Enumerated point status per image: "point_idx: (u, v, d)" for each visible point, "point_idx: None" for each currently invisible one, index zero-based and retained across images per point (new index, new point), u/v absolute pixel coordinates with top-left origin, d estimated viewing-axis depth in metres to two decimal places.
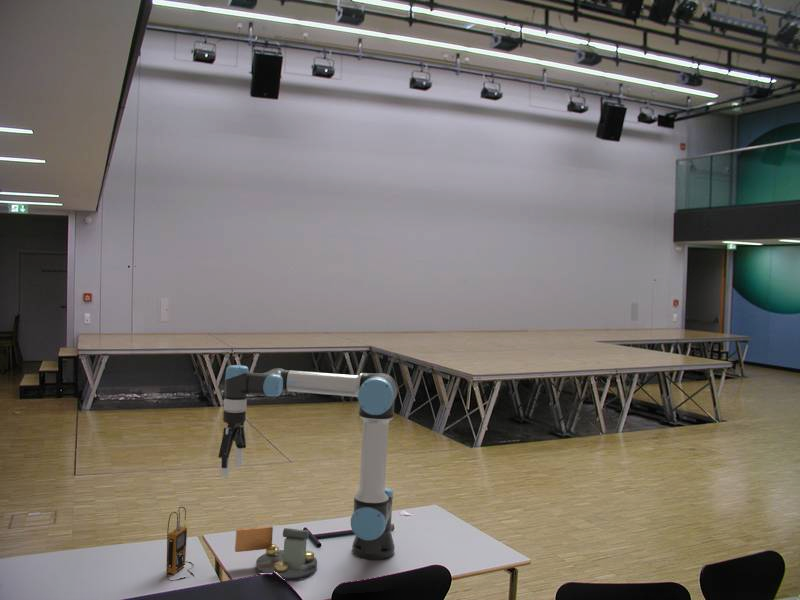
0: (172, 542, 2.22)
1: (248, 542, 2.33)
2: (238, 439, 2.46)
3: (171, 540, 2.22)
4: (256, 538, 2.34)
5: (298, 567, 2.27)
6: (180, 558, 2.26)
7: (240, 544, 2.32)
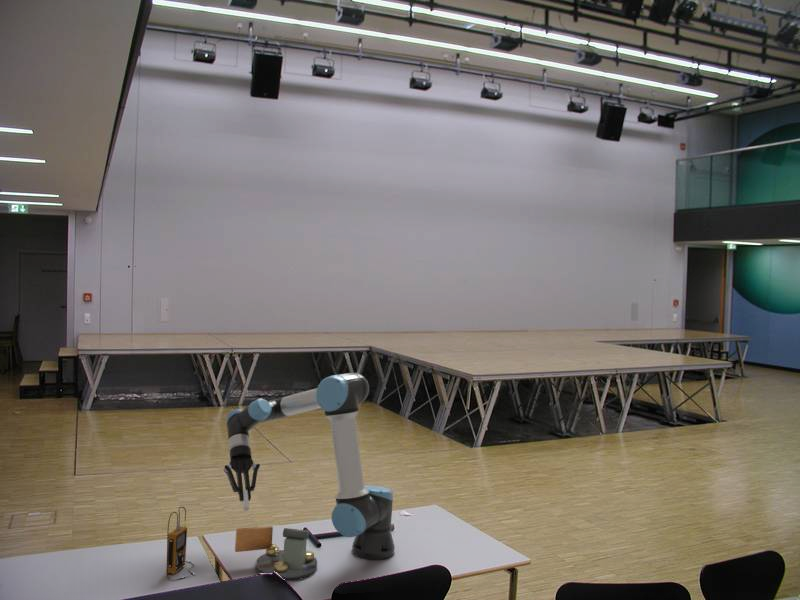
0: (172, 542, 2.22)
1: (248, 542, 2.33)
2: (245, 478, 2.51)
3: (171, 540, 2.22)
4: (256, 538, 2.34)
5: (298, 567, 2.27)
6: (180, 558, 2.26)
7: (240, 544, 2.32)
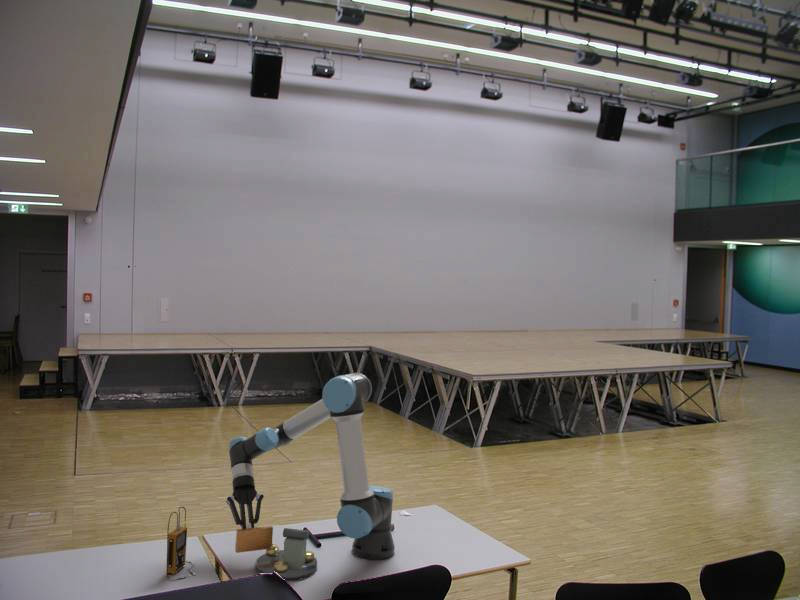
0: (172, 542, 2.22)
1: (248, 542, 2.32)
2: (248, 510, 2.42)
3: (171, 540, 2.22)
4: (256, 538, 2.33)
5: (298, 567, 2.27)
6: (180, 558, 2.26)
7: (241, 545, 2.31)
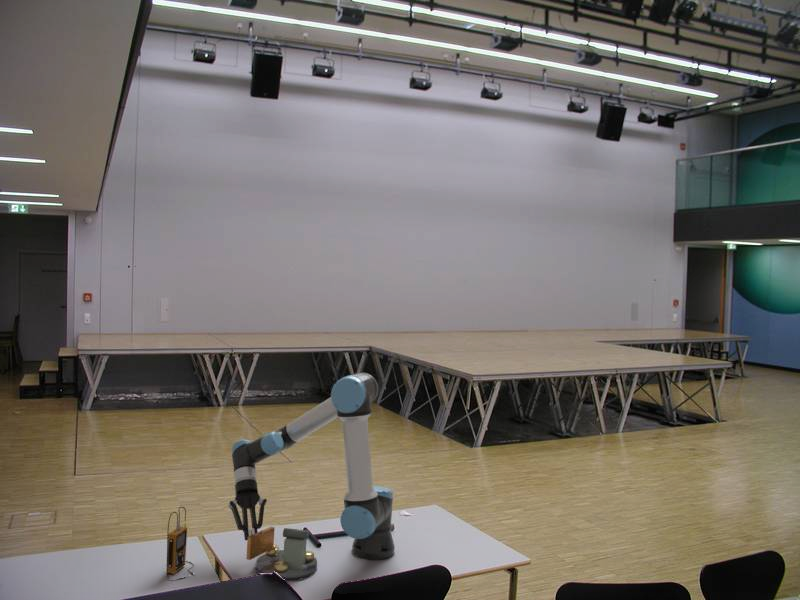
0: (172, 542, 2.22)
1: (258, 547, 2.29)
2: (251, 514, 2.38)
3: (171, 540, 2.22)
4: (263, 541, 2.31)
5: (298, 567, 2.27)
6: (180, 558, 2.26)
7: (253, 551, 2.27)
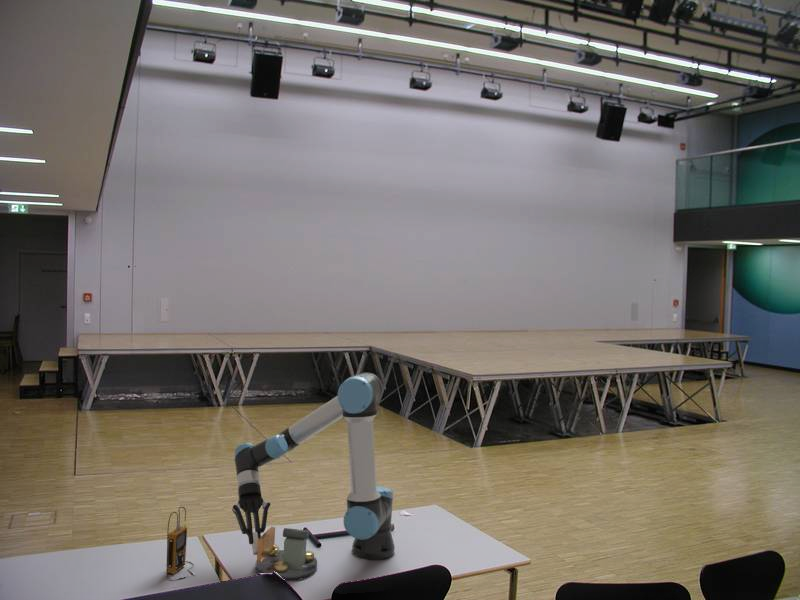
0: (172, 542, 2.22)
1: (266, 548, 2.28)
2: (254, 518, 2.35)
3: (171, 540, 2.22)
4: (269, 542, 2.31)
5: (298, 567, 2.27)
6: (180, 558, 2.26)
7: (263, 552, 2.26)
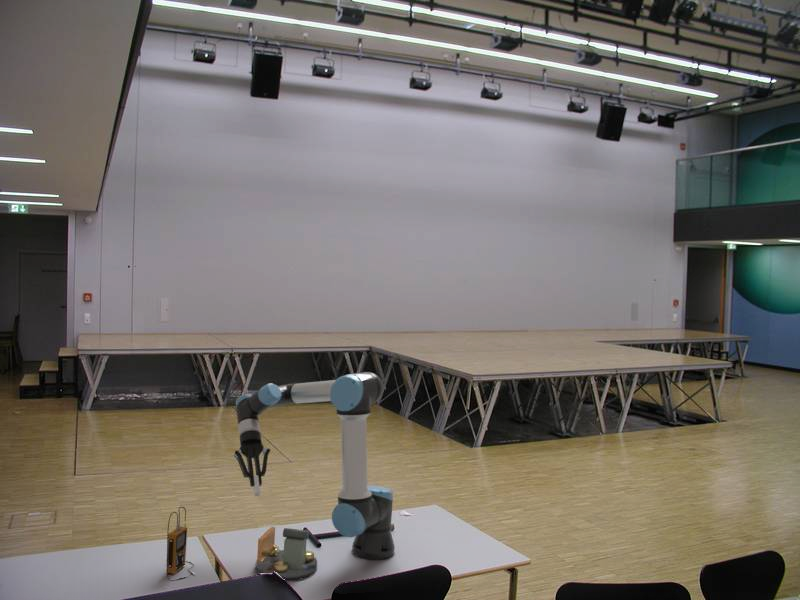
0: (172, 542, 2.22)
1: (266, 548, 2.28)
2: (255, 463, 2.49)
3: (171, 540, 2.22)
4: (269, 542, 2.31)
5: (298, 567, 2.27)
6: (180, 558, 2.26)
7: (263, 552, 2.26)
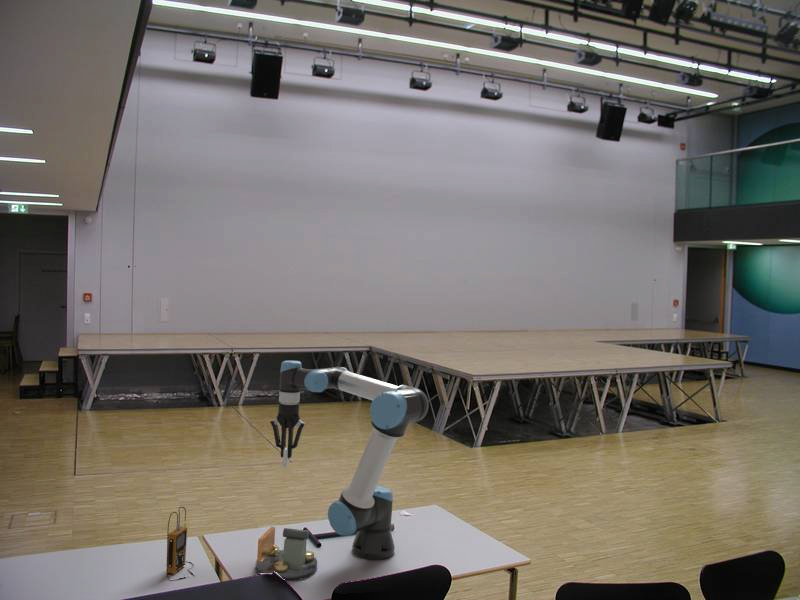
0: (172, 542, 2.22)
1: (266, 548, 2.28)
2: None
3: (171, 540, 2.22)
4: (269, 542, 2.31)
5: (298, 567, 2.27)
6: (180, 558, 2.26)
7: (263, 552, 2.26)
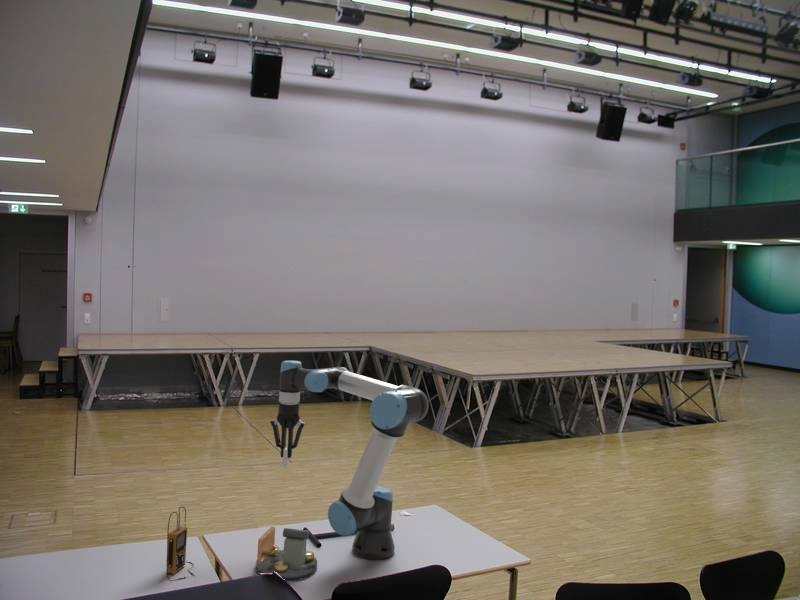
0: (172, 542, 2.22)
1: (266, 548, 2.28)
2: None
3: (171, 540, 2.22)
4: (269, 542, 2.31)
5: (298, 567, 2.27)
6: (180, 558, 2.26)
7: (263, 552, 2.26)
